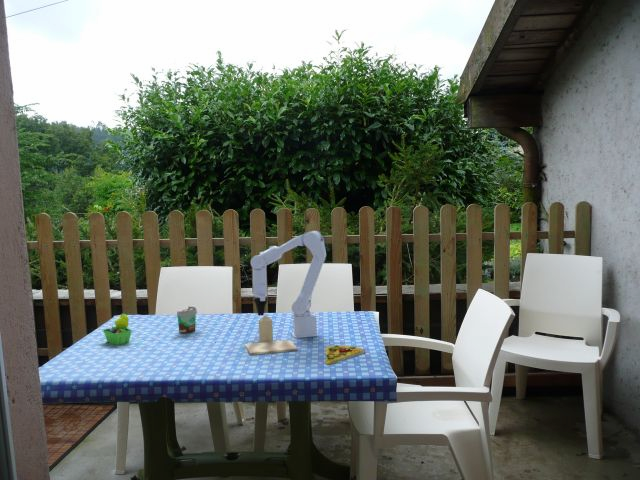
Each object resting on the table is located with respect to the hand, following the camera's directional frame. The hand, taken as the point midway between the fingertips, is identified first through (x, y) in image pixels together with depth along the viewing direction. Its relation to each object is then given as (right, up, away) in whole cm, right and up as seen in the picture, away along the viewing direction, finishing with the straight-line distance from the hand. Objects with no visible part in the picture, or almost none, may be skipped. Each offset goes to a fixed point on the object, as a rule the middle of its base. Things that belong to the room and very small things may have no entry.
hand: (260, 315), depth 238 cm
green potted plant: (-58, -11, -5) cm, 59 cm away
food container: (-32, -9, +10) cm, 35 cm away
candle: (+3, -9, -11) cm, 15 cm away
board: (+6, -10, -22) cm, 25 cm away
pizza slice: (+31, -11, -36) cm, 49 cm away
